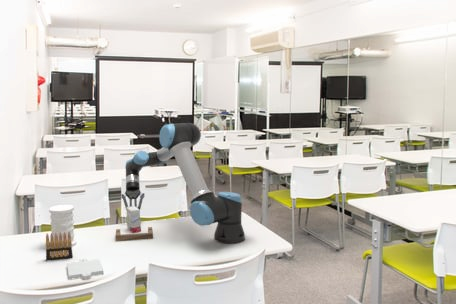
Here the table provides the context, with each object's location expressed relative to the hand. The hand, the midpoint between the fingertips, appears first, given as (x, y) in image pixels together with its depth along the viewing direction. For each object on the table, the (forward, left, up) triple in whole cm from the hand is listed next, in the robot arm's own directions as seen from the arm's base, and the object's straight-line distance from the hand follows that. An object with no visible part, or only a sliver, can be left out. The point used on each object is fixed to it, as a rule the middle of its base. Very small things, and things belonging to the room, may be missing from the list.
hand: (133, 221), depth 231 cm
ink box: (-6, 0, -3) cm, 7 cm away
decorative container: (-21, +33, -3) cm, 39 cm away
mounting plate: (-54, +20, -4) cm, 57 cm away
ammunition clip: (-39, +32, -3) cm, 50 cm away
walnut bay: (-16, 0, -3) cm, 16 cm away
